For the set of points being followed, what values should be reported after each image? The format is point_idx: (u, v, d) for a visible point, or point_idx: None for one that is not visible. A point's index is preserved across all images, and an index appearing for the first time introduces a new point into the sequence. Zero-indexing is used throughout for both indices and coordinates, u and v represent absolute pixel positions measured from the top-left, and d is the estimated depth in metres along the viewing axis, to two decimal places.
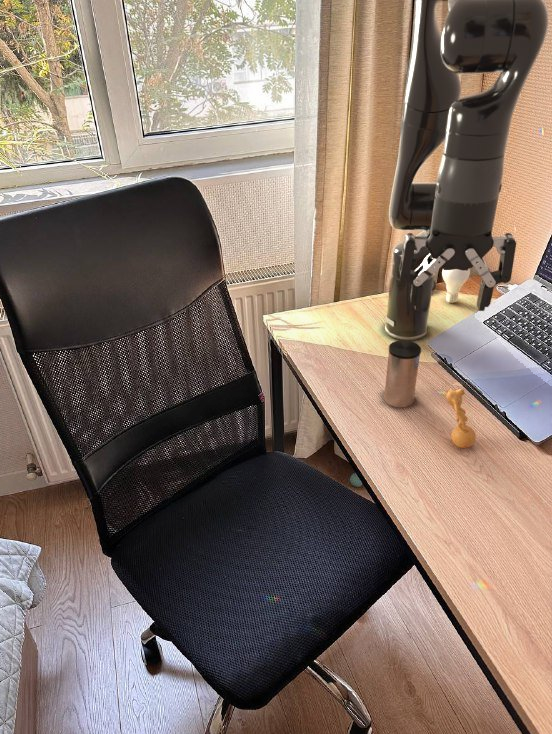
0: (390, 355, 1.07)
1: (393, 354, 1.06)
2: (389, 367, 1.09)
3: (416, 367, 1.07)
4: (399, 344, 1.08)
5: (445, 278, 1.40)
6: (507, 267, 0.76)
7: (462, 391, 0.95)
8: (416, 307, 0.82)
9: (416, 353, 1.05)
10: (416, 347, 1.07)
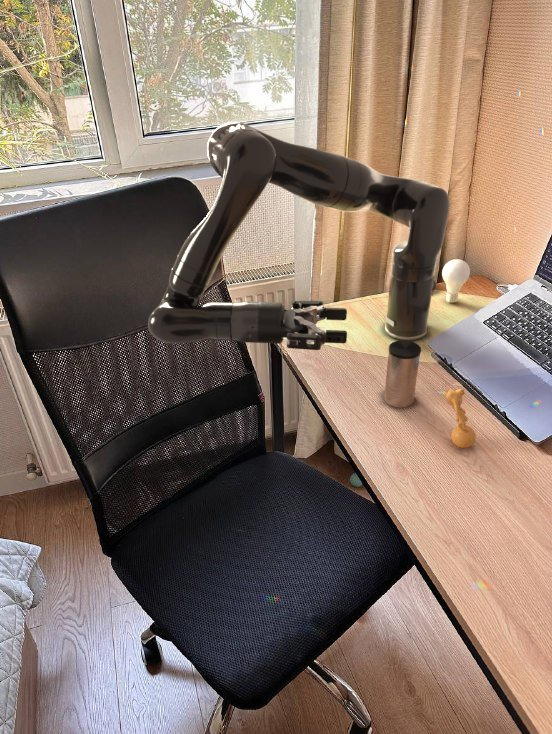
0: (390, 355, 1.07)
1: (393, 354, 1.06)
2: (389, 367, 1.09)
3: (416, 367, 1.07)
4: (399, 344, 1.08)
5: (445, 278, 1.40)
6: None
7: (462, 391, 0.95)
8: None
9: (416, 353, 1.05)
10: (416, 347, 1.07)
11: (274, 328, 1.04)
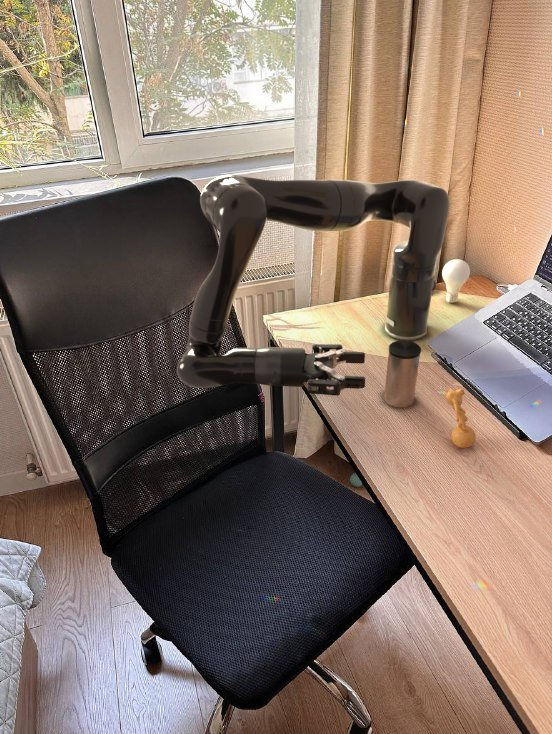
0: (390, 355, 1.07)
1: (393, 354, 1.06)
2: (389, 367, 1.09)
3: (416, 367, 1.07)
4: (399, 344, 1.08)
5: (445, 278, 1.40)
6: None
7: (462, 391, 0.95)
8: None
9: (416, 353, 1.05)
10: (416, 347, 1.07)
11: (295, 373, 1.10)
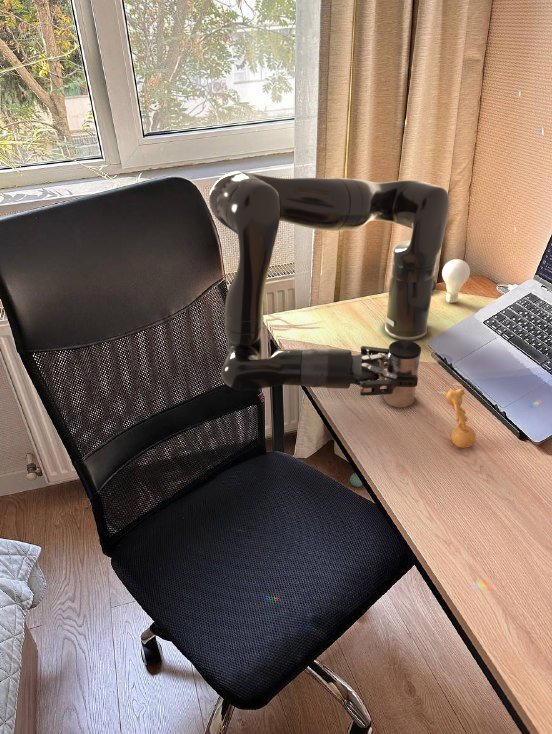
0: (390, 355, 1.07)
1: (393, 354, 1.06)
2: (389, 367, 1.09)
3: (416, 367, 1.07)
4: (399, 344, 1.08)
5: (445, 278, 1.40)
6: None
7: (462, 391, 0.95)
8: None
9: (416, 353, 1.05)
10: (417, 347, 1.07)
11: (343, 375, 1.08)
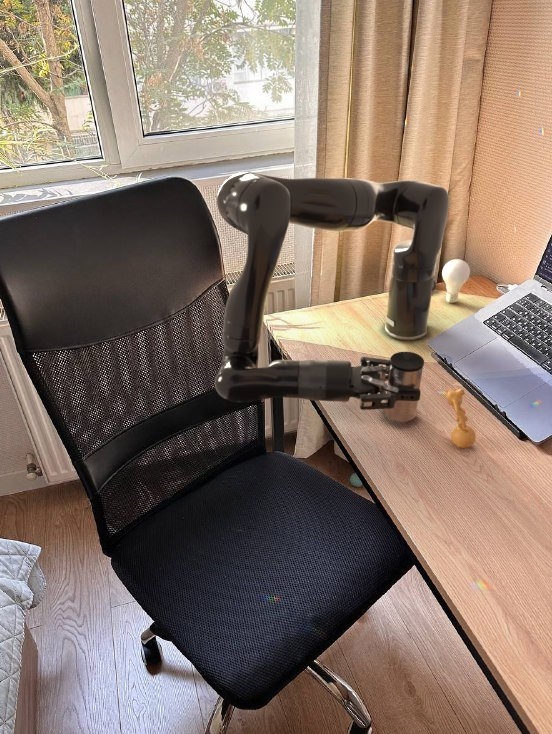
0: (392, 367, 1.02)
1: (395, 366, 1.01)
2: (390, 380, 1.04)
3: (419, 380, 1.02)
4: (401, 356, 1.03)
5: (445, 278, 1.40)
6: None
7: (462, 391, 0.95)
8: None
9: (419, 366, 1.01)
10: (419, 359, 1.02)
11: (342, 388, 1.03)
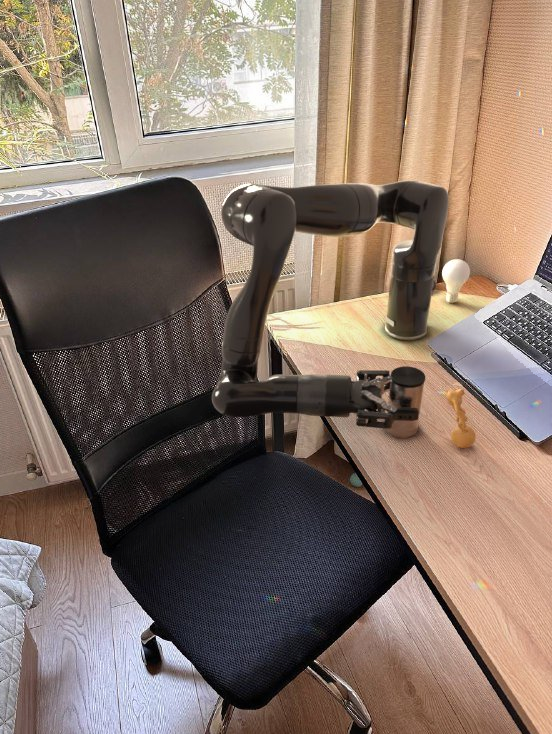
0: (392, 383, 1.00)
1: (395, 382, 0.99)
2: (391, 395, 1.01)
3: (420, 396, 1.00)
4: (402, 371, 1.01)
5: (445, 278, 1.40)
6: None
7: (462, 391, 0.95)
8: None
9: (420, 381, 0.98)
10: (420, 374, 1.00)
11: (342, 404, 1.01)
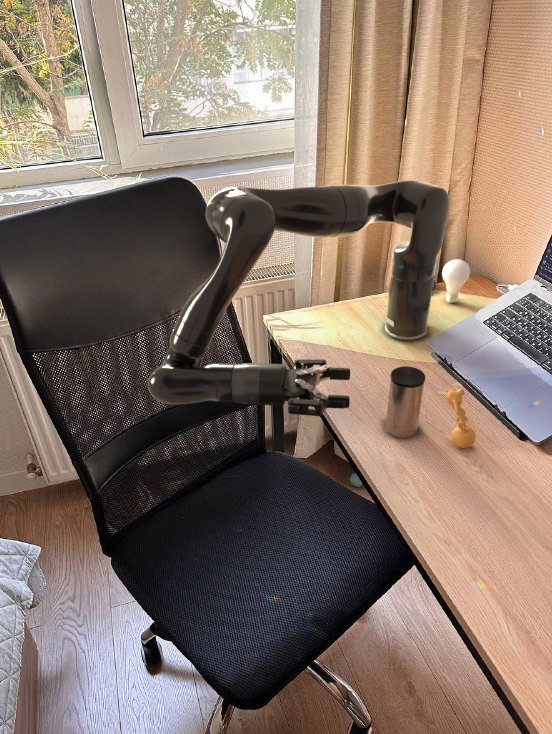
0: (392, 383, 1.00)
1: (395, 382, 0.99)
2: (391, 395, 1.01)
3: (420, 396, 1.00)
4: (402, 371, 1.01)
5: (445, 278, 1.40)
6: None
7: (462, 391, 0.95)
8: None
9: (420, 381, 0.98)
10: (420, 374, 1.00)
11: (275, 392, 1.02)
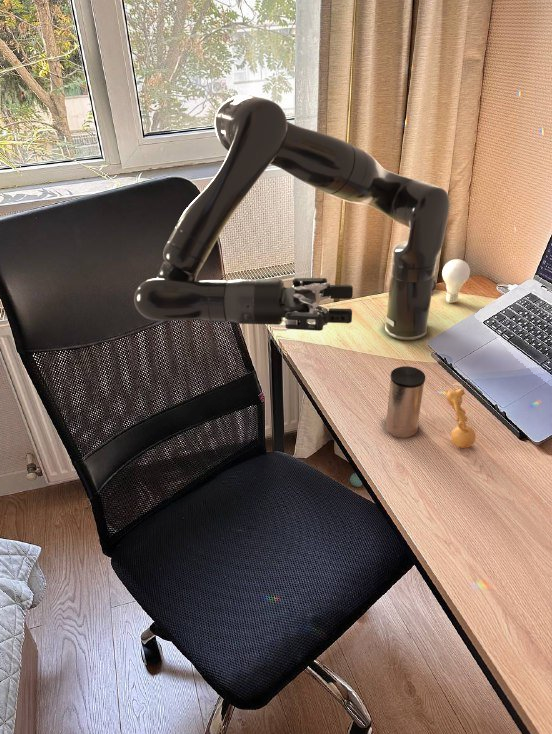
0: (392, 383, 1.00)
1: (395, 382, 0.99)
2: (391, 395, 1.01)
3: (420, 396, 1.00)
4: (402, 371, 1.01)
5: (445, 278, 1.40)
6: None
7: (462, 391, 0.95)
8: None
9: (420, 381, 0.98)
10: (420, 374, 1.00)
11: (271, 307, 0.94)
